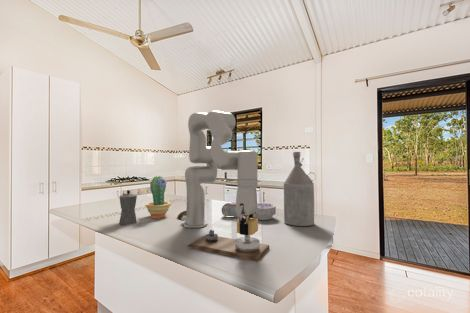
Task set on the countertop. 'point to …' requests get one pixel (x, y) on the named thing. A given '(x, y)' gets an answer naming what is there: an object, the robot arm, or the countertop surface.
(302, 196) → the grey bottle
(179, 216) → the bread roll
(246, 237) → the hub
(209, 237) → the round drawer knob
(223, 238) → the board
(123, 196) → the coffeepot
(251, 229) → the hollow square block
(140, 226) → the countertop surface
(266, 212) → the paper bowls
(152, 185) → the potted cactus
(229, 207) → the tin
